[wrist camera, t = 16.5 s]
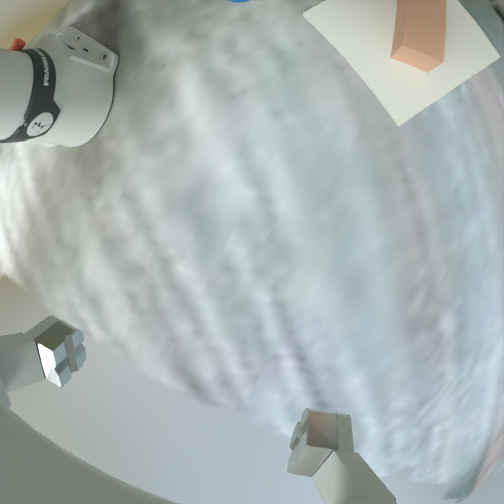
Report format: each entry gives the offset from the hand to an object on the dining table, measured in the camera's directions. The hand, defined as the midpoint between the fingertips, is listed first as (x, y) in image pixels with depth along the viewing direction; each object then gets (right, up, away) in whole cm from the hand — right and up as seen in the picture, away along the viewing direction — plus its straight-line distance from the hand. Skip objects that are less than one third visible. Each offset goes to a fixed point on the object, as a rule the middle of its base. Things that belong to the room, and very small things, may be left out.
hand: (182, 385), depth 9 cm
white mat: (+23, +32, +17) cm, 43 cm away
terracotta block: (+21, +26, +15) cm, 36 cm away
